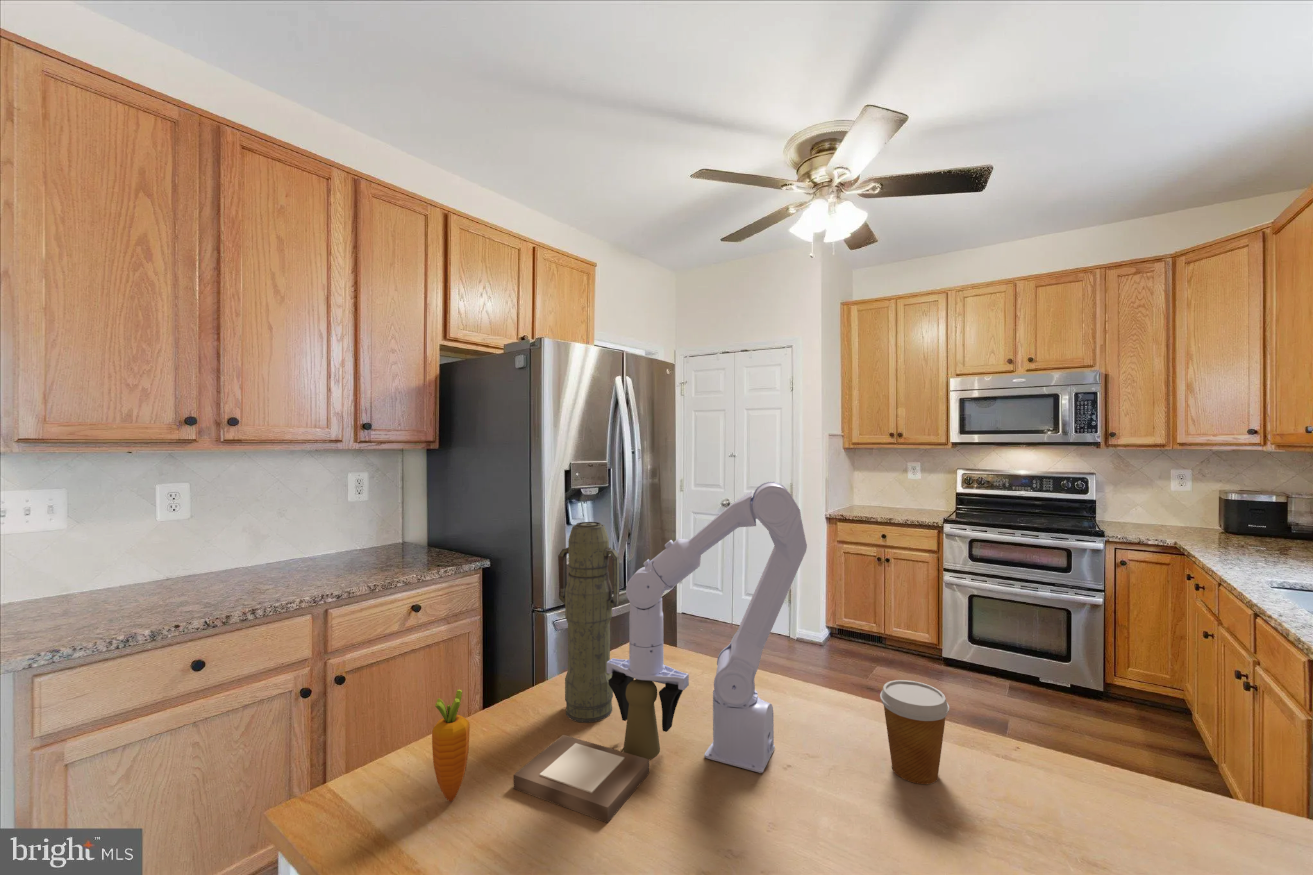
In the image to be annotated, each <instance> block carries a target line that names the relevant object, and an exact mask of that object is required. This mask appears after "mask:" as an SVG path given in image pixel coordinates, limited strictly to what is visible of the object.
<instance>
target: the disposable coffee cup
mask: <svg viewBox="0 0 1313 875" xmlns="http://www.w3.org/2000/svg"><path fill="white" fill-rule="evenodd" d="M879 698H880V700H881V702H882V703H881V704H882V706H883V711H884V718H885V726H886V731H887V732H886V733H887V739H888V740H887V741H888V746H889V753H890V762H891V768H892V771H893V772H894V773H895V775H897V776H898V777H900V778H901V779H902V780H905V781H908V782H909V783H913V784H919V785H931V784H933V783H936V782H937V781H938V779H939V770H940V762H941V756H942V748H943V741H944V731H945V725H946V717H947V715H948V713H949V712H950V705H949V703H948V702H947V699H946V696H945V694H944V693H943V692H942V690H939V689H938V688H936V687H934V686H932V685H929V684H926V683H923V682H919V681H916V680H915V681H914V680H910V679H909V680H905V679H896V680H895V679H894V680H891V681H887V682H886V683H884V685H883V687H882V690H881V691H880V694H879Z"/></svg>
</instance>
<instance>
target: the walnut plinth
mask: <svg viewBox="0 0 1313 875" xmlns="http://www.w3.org/2000/svg"><path fill="white" fill-rule="evenodd" d="M649 774H650V759H646V758H642V757H639V756H635V755H632V754H628V753H625V752H623V751H621V750H617V749H614V748H610V747H608V746H604V745H601V744H597V743H594V742H591V741H590V742H589V741H587V740H584V739H580V738H576V737H573V736H569V735H566V734H562V735H561V736H560V737H558V738H557V739H556V740H555V741H554V742H552V743H551V744H549V745H548V747H546V748H545V749H544V750H542V751H541V752H540V753H539V754H537V755H536V756H535V757H533V758H532V759H530V761H529V762H527V763H526V764H525V765H524V766H523V767H522V768H520V769H519V770H517V771H516V772H515V773H514V774H513V789H514V790H515V791H520V792H522V793H524V794H528V795H530V796H533V797H536V798H539V799H540V800H544V801H547V802H550V803H551V804H555V805H558V806H560V807H563V808H565V809H568V810H571V811H575V812H577V813H580V814H582V815H585V816H587V817H590V818H594V819H596V820H599V821H601V822H605V823H607V824H608V823H609V822H610V821H611V820H612V818H614V817H615V815H616V814H617V812H618V811H619V810H620V809H621V808H622V807H623V806H624V804H625V803H626V802H627V800H628V799H629V798H630V797H631V796H632V794H634V792H635V791H636V790H637V788H639V786H640V785H641V784H642V783H643V781H644V780H645V779H646V778H647V777H648V776H649Z"/></svg>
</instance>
